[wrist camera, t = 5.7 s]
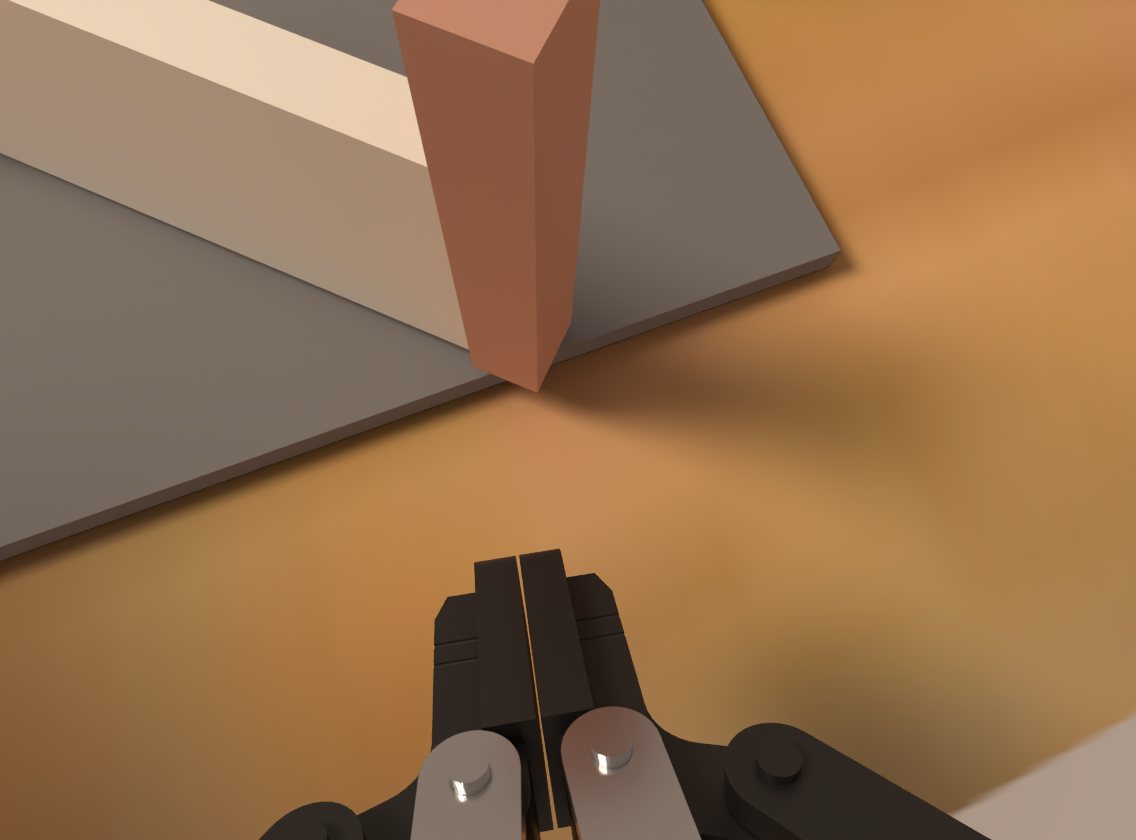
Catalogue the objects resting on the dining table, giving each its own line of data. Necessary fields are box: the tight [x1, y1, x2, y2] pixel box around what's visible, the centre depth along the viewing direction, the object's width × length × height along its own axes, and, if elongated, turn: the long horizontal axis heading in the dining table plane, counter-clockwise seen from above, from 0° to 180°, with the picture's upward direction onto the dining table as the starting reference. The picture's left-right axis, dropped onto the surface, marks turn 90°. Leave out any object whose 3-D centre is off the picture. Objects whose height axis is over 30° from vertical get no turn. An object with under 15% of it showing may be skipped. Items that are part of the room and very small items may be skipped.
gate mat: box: [0, 0, 841, 561], centre depth 25 cm, size 27×17×1 cm, turn 112°
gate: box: [0, 0, 600, 393], centre depth 17 cm, size 19×2×12 cm, turn 67°
